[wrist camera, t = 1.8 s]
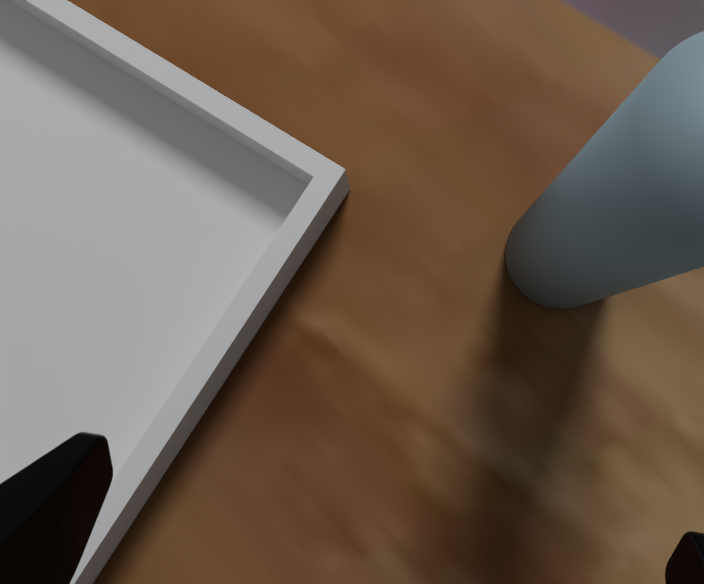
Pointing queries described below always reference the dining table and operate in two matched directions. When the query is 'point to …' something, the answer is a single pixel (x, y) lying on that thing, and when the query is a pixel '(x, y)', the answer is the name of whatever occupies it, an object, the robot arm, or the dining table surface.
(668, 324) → the dining table surface
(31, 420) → the tray
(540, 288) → the dowel
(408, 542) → the dining table surface
